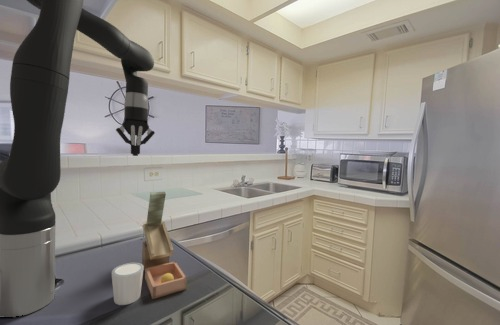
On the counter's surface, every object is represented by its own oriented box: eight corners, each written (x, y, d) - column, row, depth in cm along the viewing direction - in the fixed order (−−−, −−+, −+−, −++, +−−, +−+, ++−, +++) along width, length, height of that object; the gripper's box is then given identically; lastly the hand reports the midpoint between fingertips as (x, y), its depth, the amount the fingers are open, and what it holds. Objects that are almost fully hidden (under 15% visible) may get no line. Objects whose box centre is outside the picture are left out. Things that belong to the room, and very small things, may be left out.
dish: (152, 299, 55) (152, 287, 55) (144, 278, 63) (145, 268, 63) (186, 289, 60) (186, 277, 59) (175, 271, 68) (175, 261, 68)
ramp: (150, 259, 63) (155, 222, 58) (142, 225, 74) (146, 191, 69) (172, 255, 67) (179, 219, 62) (162, 222, 77) (167, 190, 73)
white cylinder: (129, 309, 51) (130, 278, 51) (103, 303, 53) (104, 273, 52) (149, 291, 58) (150, 264, 58) (125, 287, 59) (126, 260, 59)
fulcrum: (144, 271, 67) (145, 244, 67) (142, 264, 71) (142, 239, 71) (169, 265, 71) (169, 240, 71) (165, 259, 75) (166, 235, 75)
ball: (163, 282, 57) (160, 272, 59) (161, 291, 58) (158, 281, 60) (176, 278, 59) (172, 269, 61) (174, 287, 60) (171, 278, 62)
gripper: (115, 102, 76) (114, 155, 76) (158, 108, 83) (156, 156, 84) (114, 106, 82) (113, 154, 83) (153, 111, 89) (152, 156, 90)
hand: (135, 155), depth 83 cm, fingers closed
